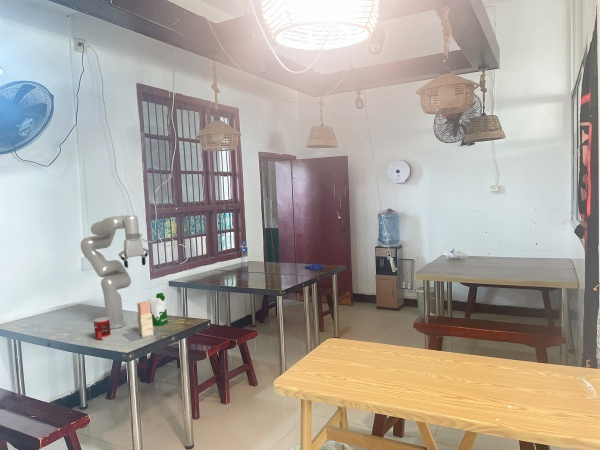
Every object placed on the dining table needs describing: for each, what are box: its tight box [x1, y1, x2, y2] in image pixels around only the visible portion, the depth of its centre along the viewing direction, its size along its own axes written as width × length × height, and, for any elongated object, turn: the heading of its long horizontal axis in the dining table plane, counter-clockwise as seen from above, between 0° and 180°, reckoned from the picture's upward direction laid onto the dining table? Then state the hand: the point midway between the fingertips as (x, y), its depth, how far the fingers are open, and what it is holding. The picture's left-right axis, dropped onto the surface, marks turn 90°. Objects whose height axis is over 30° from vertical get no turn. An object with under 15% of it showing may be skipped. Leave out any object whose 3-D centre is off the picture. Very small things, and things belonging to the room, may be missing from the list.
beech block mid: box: [136, 313, 153, 326], centre depth 240 cm, size 6×6×6 cm
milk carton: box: [147, 292, 169, 327], centre depth 260 cm, size 9×9×20 cm
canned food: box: [93, 316, 111, 341], centre depth 245 cm, size 8×8×11 cm
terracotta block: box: [136, 300, 150, 315], centre depth 240 cm, size 5×5×6 cm
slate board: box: [121, 329, 161, 343], centre depth 242 cm, size 18×16×2 cm
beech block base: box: [137, 324, 154, 337], centre depth 241 cm, size 6×6×6 cm
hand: (135, 266), depth 251 cm, fingers open, 9 cm apart
